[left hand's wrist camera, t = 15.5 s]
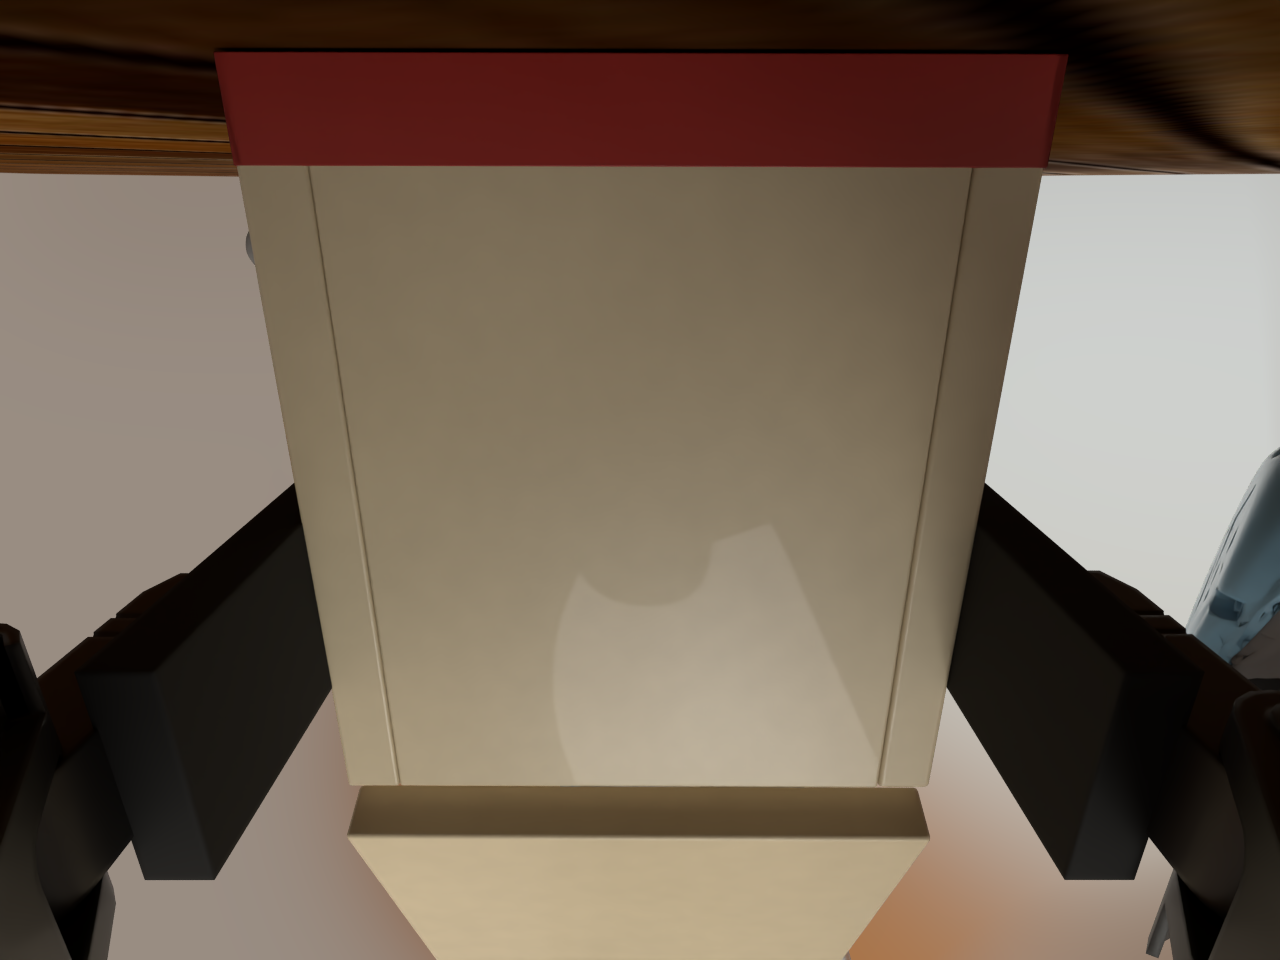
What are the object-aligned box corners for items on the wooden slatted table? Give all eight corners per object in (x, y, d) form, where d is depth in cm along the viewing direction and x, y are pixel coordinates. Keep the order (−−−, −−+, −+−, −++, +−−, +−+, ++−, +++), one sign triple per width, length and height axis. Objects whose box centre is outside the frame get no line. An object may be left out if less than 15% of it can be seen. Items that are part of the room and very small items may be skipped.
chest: (784, 145, 24) (763, 444, 28) (499, 144, 24) (517, 443, 28) (1069, 53, 8) (930, 789, 12) (212, 51, 8) (347, 787, 12)
